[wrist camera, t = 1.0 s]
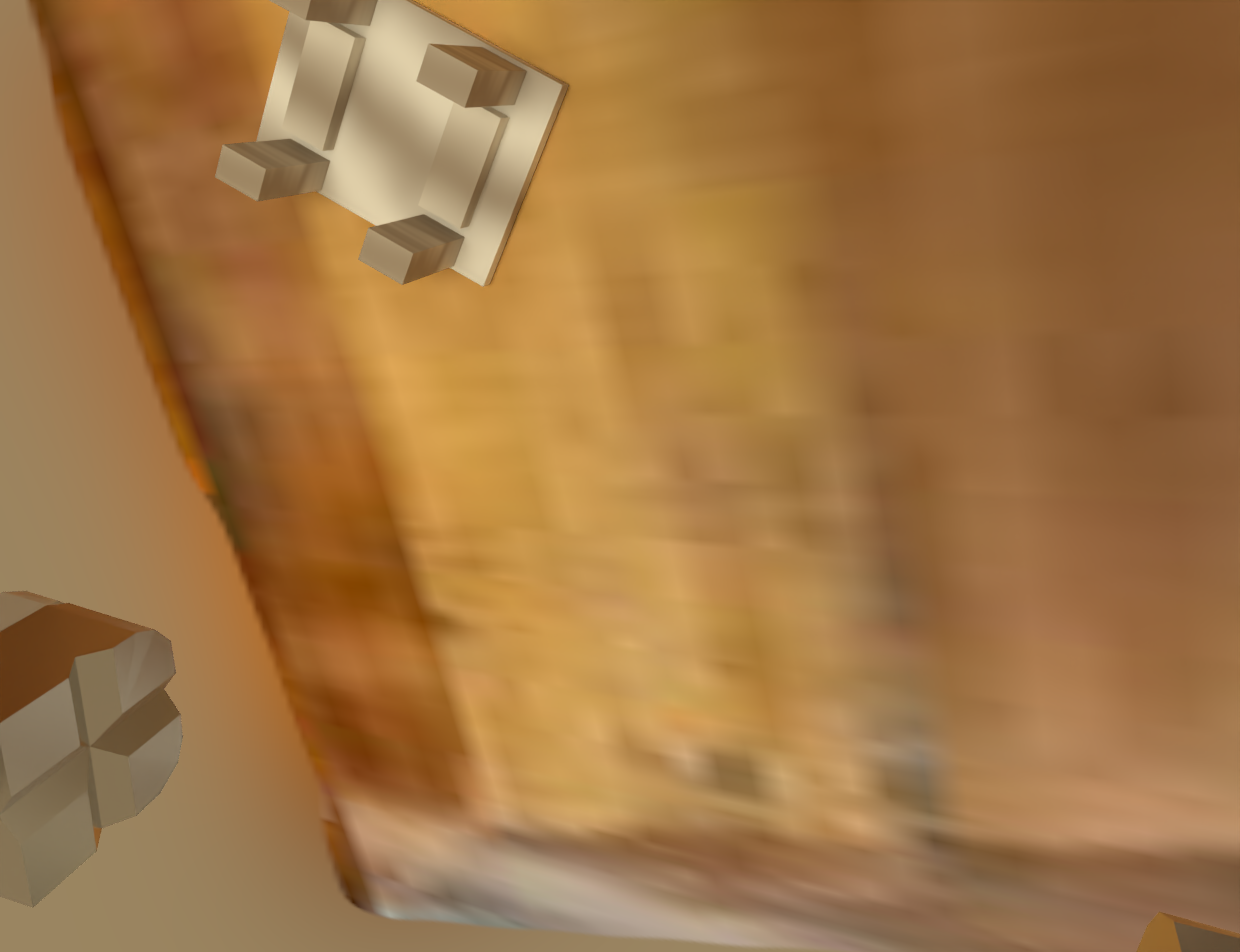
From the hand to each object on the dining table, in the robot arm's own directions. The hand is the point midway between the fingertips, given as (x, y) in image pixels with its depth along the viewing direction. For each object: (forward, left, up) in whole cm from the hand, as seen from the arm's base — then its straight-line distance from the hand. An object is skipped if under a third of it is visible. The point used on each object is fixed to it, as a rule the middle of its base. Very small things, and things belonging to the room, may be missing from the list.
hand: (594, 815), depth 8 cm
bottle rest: (+7, -23, -40) cm, 47 cm away
